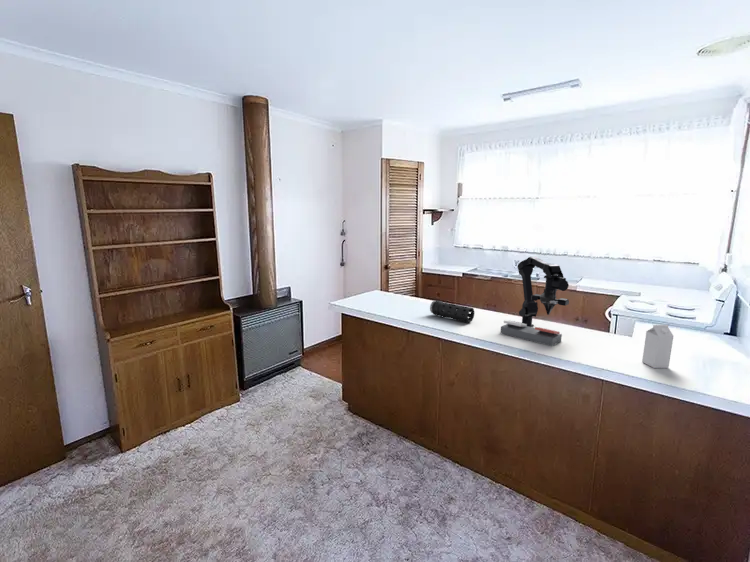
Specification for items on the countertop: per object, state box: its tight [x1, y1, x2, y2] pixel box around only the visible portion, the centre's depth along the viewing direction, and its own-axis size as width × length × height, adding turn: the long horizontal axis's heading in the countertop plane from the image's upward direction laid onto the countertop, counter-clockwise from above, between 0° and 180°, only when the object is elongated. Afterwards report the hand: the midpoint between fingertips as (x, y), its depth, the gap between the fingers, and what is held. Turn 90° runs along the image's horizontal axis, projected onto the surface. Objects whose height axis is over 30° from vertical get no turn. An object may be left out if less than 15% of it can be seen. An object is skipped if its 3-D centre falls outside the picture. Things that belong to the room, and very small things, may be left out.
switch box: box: [500, 323, 563, 347], centre depth 214 cm, size 12×29×5 cm, turn 44°
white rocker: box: [503, 320, 527, 327], centre depth 219 cm, size 8×10×1 cm
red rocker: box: [534, 326, 561, 334], centre depth 207 cm, size 8×10×1 cm
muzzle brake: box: [429, 300, 475, 324], centre depth 248 cm, size 10×28×10 cm, turn 47°
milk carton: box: [641, 324, 674, 369], centre depth 174 cm, size 7×7×19 cm
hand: (548, 314), depth 215 cm, fingers closed
